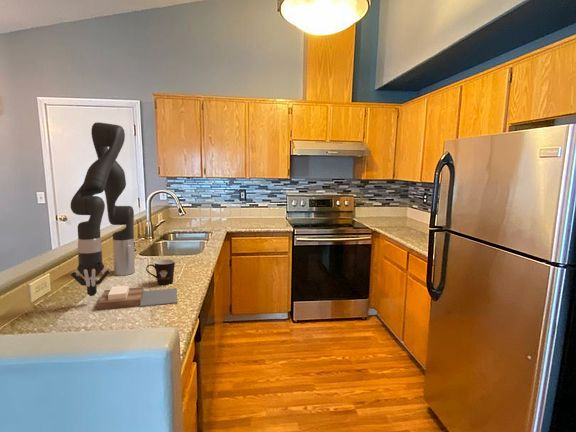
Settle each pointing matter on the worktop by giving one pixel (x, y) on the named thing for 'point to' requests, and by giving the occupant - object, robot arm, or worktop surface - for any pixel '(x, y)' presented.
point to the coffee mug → (163, 271)
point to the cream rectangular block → (118, 292)
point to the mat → (159, 297)
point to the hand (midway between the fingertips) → (92, 295)
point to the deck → (131, 300)
